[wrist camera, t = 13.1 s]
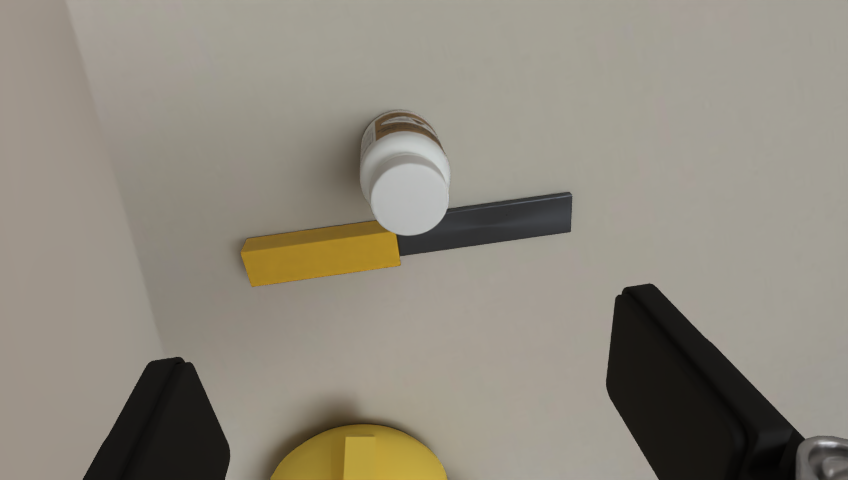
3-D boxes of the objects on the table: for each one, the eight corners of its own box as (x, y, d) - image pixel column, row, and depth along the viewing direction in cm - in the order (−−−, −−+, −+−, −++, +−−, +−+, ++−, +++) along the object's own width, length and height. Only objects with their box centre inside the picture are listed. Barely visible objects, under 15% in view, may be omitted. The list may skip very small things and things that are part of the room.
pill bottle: (448, 122, 27) (475, 169, 20) (423, 191, 29) (439, 255, 22) (373, 97, 26) (375, 138, 19) (351, 171, 28) (346, 232, 21)
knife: (258, 272, 31) (251, 288, 29) (246, 236, 29) (239, 251, 28) (568, 228, 31) (578, 241, 30) (569, 191, 30) (580, 203, 28)
